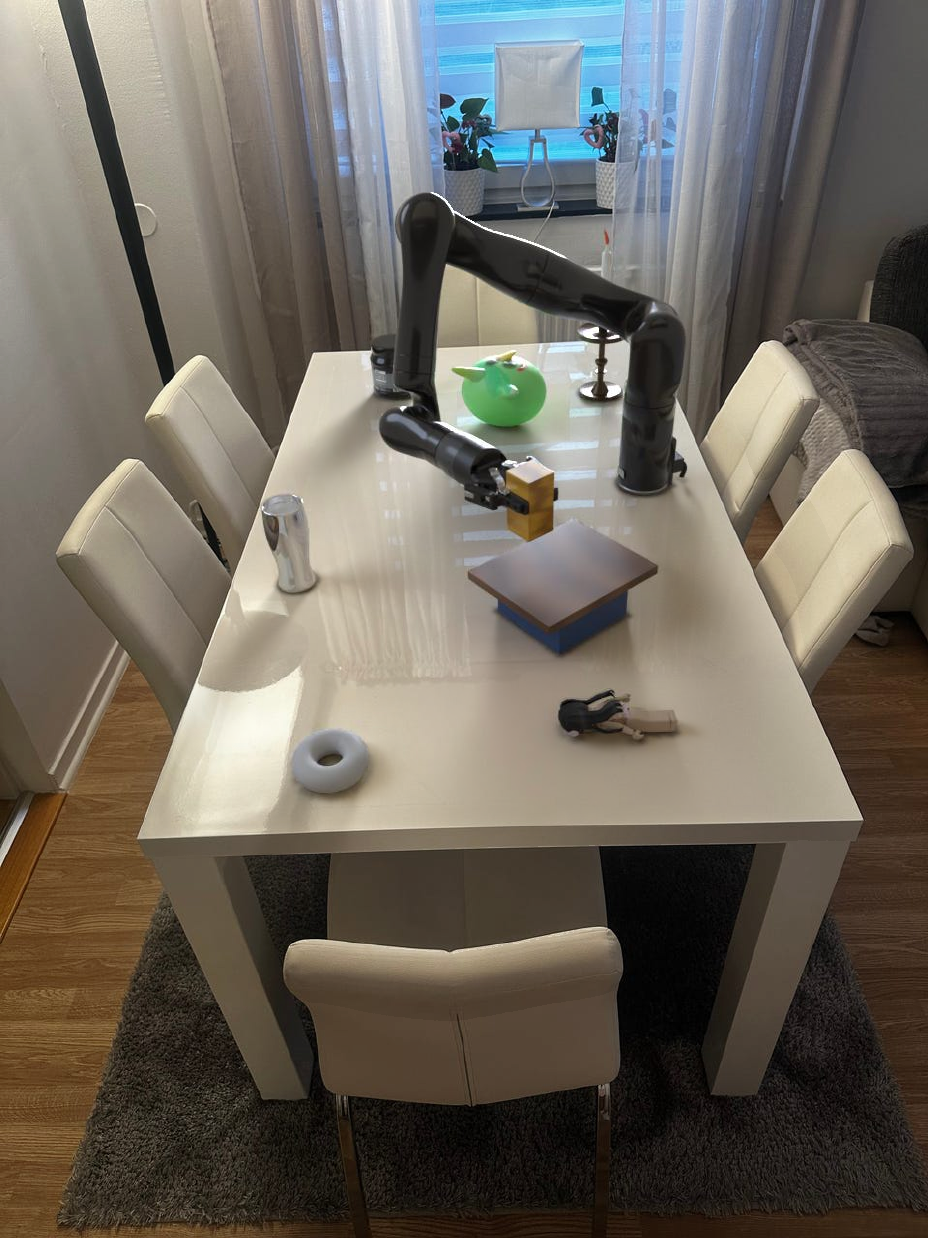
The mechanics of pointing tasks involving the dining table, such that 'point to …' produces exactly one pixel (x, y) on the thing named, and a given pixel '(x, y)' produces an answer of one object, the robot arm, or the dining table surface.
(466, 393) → the toy bird
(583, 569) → the board
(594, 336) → the candlestick
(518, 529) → the block
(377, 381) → the supplement container
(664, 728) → the toy figure
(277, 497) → the beer glass
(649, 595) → the dining table surface
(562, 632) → the blue box
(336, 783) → the donut
